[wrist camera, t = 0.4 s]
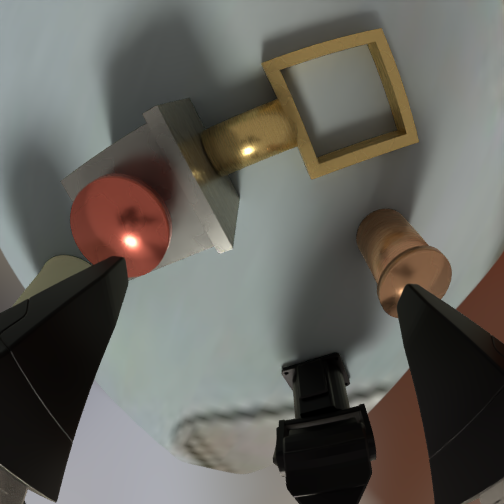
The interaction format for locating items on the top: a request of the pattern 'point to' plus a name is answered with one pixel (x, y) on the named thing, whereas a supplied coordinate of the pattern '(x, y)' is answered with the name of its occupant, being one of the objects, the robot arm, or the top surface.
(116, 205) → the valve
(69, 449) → the robot arm
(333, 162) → the socket
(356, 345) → the top surface
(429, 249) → the stub
